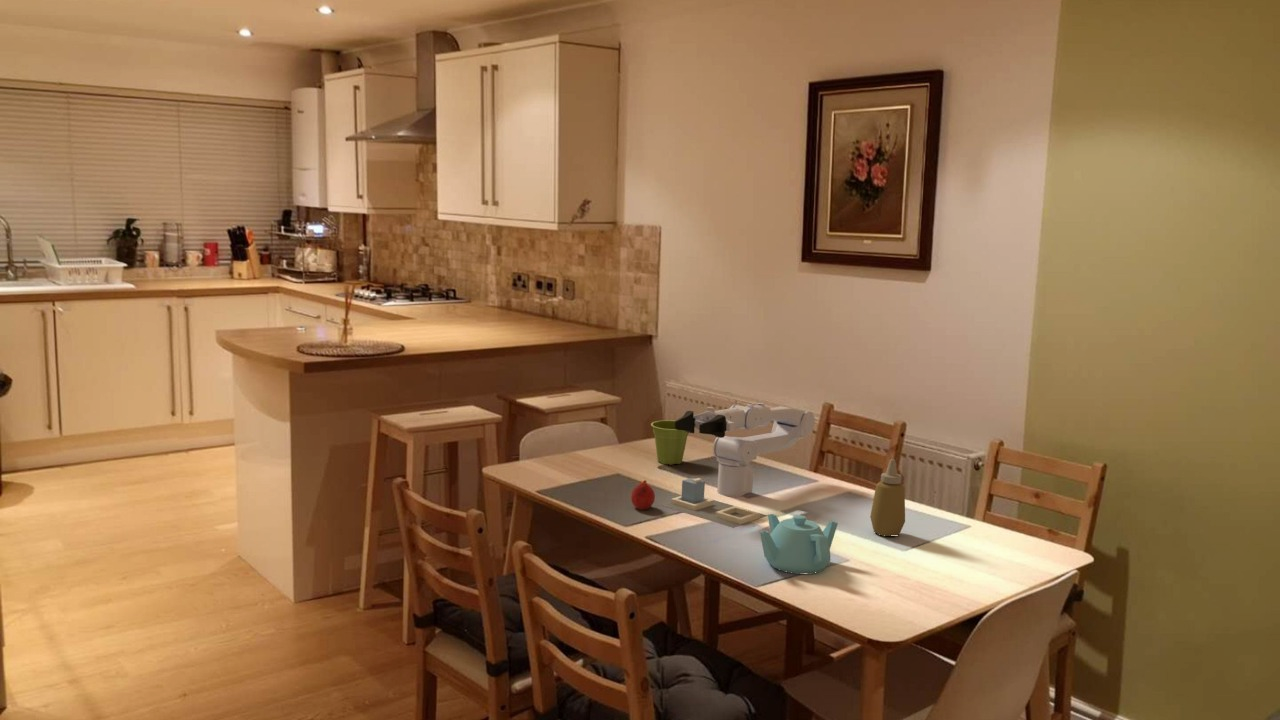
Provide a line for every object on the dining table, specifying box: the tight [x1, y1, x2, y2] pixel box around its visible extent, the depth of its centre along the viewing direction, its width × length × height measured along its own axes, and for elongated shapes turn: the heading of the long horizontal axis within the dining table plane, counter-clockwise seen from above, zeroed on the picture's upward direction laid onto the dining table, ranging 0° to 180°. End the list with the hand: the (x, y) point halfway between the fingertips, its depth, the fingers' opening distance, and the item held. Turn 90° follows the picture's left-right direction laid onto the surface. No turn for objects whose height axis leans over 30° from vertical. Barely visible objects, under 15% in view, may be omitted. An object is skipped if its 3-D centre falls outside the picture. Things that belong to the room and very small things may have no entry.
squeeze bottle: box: [870, 458, 906, 537], centre depth 238 cm, size 8×8×18 cm
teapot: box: [759, 513, 839, 574], centre depth 215 cm, size 15×15×11 cm
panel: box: [662, 495, 768, 529], centre depth 248 cm, size 14×22×2 cm, turn 48°
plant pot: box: [650, 419, 689, 466], centre depth 296 cm, size 12×12×11 cm
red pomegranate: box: [630, 479, 656, 511], centre depth 248 cm, size 6×6×8 cm
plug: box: [680, 477, 706, 504], centre depth 252 cm, size 4×4×7 cm
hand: (688, 427), depth 247 cm, fingers open, 7 cm apart
